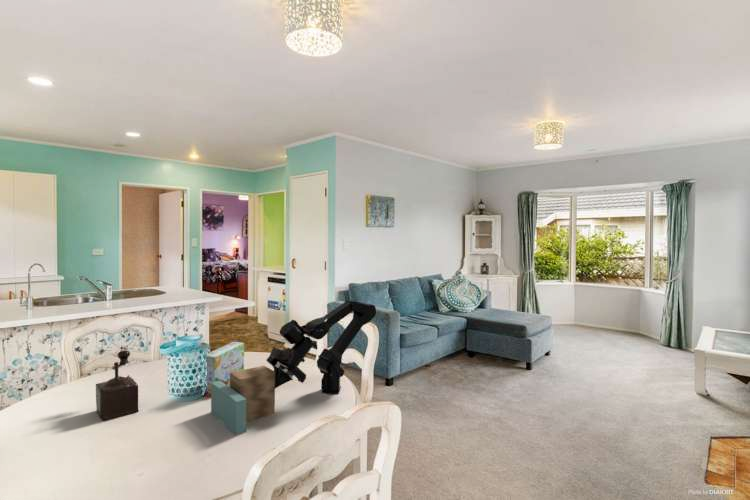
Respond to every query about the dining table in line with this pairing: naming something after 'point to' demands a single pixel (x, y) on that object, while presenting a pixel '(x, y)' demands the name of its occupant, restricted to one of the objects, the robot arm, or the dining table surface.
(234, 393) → the teal board
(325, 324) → the robot arm
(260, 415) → the walnut block
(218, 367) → the snack box
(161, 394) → the dining table surface
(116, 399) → the pepper mill
